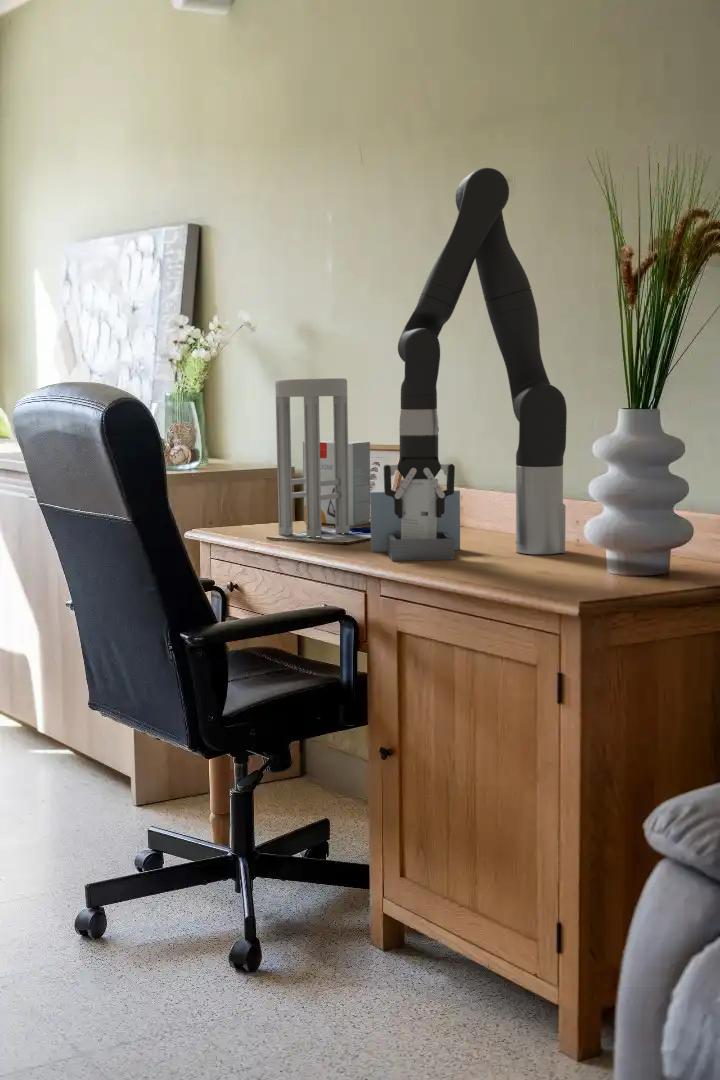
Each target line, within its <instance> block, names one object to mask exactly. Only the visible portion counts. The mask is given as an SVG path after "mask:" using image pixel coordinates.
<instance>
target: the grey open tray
mask: <svg viewBox="0 0 720 1080" xmlns="http://www.w3.org/2000/svg"><path fill="white" fill-rule="evenodd" d="M386 553H387V555H388V557H389V558H390V559H389V560H390V561H391V562H404V561H405V562H409V561H411V562H412V561H416V562H417V561H450V560H451V561H452V560H455V550H454V538H453V537H452V536H451V535H449V534H448V533H447V532H437V533H436V539H401V530H399V531H396V533H387V551H386Z"/></svg>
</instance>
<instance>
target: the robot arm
mask: <svg viewBox="0 0 720 1080" xmlns="http://www.w3.org/2000/svg"><path fill="white" fill-rule="evenodd" d="M509 197H510V187H509V183H508V180H507V178H506V177H505V175H504V174H503V173H502V172H501V171H499V169H498V170H497V169H496V168H491V167H482V168H479V169H476V170H473V171H472V172H471V173H469V174H468V175H467V176H466V177H464V178H463V179H462V180H461V181H460V182H459V184H458V186H457V188H456V191H455V205H456V208H457V212H458V215H457V218H456V220H455V223H454V225H453V227H452V231H451V233H450V235H449V238H448V239H447V241H446V243H445V245H444V247H443V248H442V251H441V252H440V254H439V256H438V257H437V260H436V261H435V263H434V265H433V266H432V269H431V271H430V272H429V275H428V277H427V279H426V282H425V284H424V286H423V289H422V291H421V294H420V296H419V298H418V302H417V305H416V306H415V308H414V311H413V312H412V313H411V315H410V317H409V319H408V321H407V322H406V324H405V326H404V328H403V330H402V332H401V334H400V337H399V339H398V343H397V353H398V356H399V359H401V360H402V362H404V377H403V378H404V379H403V381H402V383H401V384H400V385H401V386H400V415H399V430H398V431H399V460H398V463H397V464H384V465H383V486H384V489H383V492H385V494H386V495H387V496H390V497H393V498H394V513H395V515H398V518H402V499H401V495H402V494H403V492H404V491H405V489H406V488H407V486H408V485H409V483H410V481H411V480H412V479H432V480H433V482H434V483H433V488H434V489H435V491H436V493H437V495H438V498H437V517H441V514H444V512H445V497H446V496H449V495H452V494H453V493H454V490H455V477H456V476H455V472H456V471H455V470H456V469H455V468H456V467H455V465H454V464H453V463H451V462H450V463H446V464H445V463H444V464H442V463H440V460H439V432H440V431H439V430H440V428H439V415H438V390H437V383H438V376H439V369H440V364H441V363H440V361H441V344H440V340H439V336H440V334H441V331H442V329H443V327H444V325H445V324H446V323H448V321H449V320H450V319H451V317H452V315H453V313H454V310H455V309H456V306H457V303H458V301H459V299H460V297H461V294H462V292H463V290H464V286H465V284H466V281H467V280H468V276H469V274H470V271H471V269H472V267H473V264H474V262H475V265H476V270H477V274H478V277H479V282H480V286H481V289H482V295H483V299H484V302H485V306H486V307H485V308H486V310H487V314H488V317H489V320H490V323H491V326H492V330H493V333H494V336H495V338H496V339H495V340H496V344H498V345H497V346H498V349H499V351H500V353H501V356H502V359H503V362H504V365H505V369H506V374H507V379H508V383H509V385H508V386H509V390H510V396H511V403H512V409H513V413H514V416H515V418H516V419H517V421H518V424H519V425H518V427H519V428H518V431H519V432H518V434H519V435H518V436H519V437H518V446H517V450H516V454H515V552H516V553H519V554H524V555H525V554H526V555H527V554H528V555H554V554H561V553H563V554H565V553H566V504H565V503H564V456H565V452H566V445H567V420H568V419H567V418H568V417H567V415H568V413H567V412H568V411H567V403H566V399H565V396H564V395H563V392H562V391H561V390H560V389H559V388H558V387H556V386H554V385H552V384H551V382H550V380H549V377H548V375H547V372H546V368H545V365H544V362H543V358H542V355H541V347H540V345H541V344H540V343H541V342H540V327H539V317H538V316H539V315H538V309H537V306H536V305H537V304H536V301H535V297H534V293H533V290H532V287H531V283H530V281H529V278H528V276H527V275H528V274H526V271H525V269H524V268H523V265H522V264H521V261H520V260H519V258H518V256H517V255H516V253H515V251H514V250H513V247H512V245H511V244H510V240H509V238H508V235H507V234H508V233H507V230H506V225H505V221H504V220H505V219H504V216H503V210H504V208H505V207H506V205H507V203H508V201H509ZM441 470H442V471H443V474H444V475H445V476H446V488H445V489H442V487H441V485H440V484H439V481H438V482H437V481H436V479H437V478H436V477H437V475H438V474H439V473H440V471H441ZM396 471H398V472H399V474H400V475H401V476H402V479H401V481H400V482H399V483H398V486H397V488H396V490H393V489H392V477H393V476H394V475H395V473H396ZM403 479H404V480H403ZM402 480H403V482H402ZM405 482H406V483H405Z"/></svg>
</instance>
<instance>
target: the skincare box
mask: <svg viewBox="0 0 720 1080" xmlns="http://www.w3.org/2000/svg"><path fill="white" fill-rule="evenodd" d="M402 479H403V478H402ZM402 479H401V481H402V482H403V480H404V479H403V480H402ZM435 479H436V481H437V482H438V483H439V480H438V479H437V478H435ZM405 483H406V482H405ZM433 483H434V482H433V480H432V479H412V480H411V481H410V483H409V485H408V486H407V488H406V489H405V491H404V492H403V494H402V518H401V539H436V533H437V493H436V491H435V489H434V488H433Z"/></svg>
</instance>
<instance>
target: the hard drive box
mask: <svg viewBox="0 0 720 1080" xmlns="http://www.w3.org/2000/svg"><path fill="white" fill-rule="evenodd" d="M302 466H303V467H302V470H303V471H302V472H303V477H302V478H305V440H304V441H302ZM348 467H349V527H350V526H351V527H354V526H359V525H367V524H371V507H370V492H371V442H370V441H355V440H348ZM320 479H321V481H324V480H334V479H335V470H334V439H332V440H328V439H326V440H325V439H320ZM302 488H303V492H305V491H306V483H305V484H303V487H302ZM331 493H335V485H330V486H321V495H322V494H331ZM369 519H370V521H369ZM303 522H304V523H306V497H303ZM321 524H327V525H335V499H328V500H321Z"/></svg>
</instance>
